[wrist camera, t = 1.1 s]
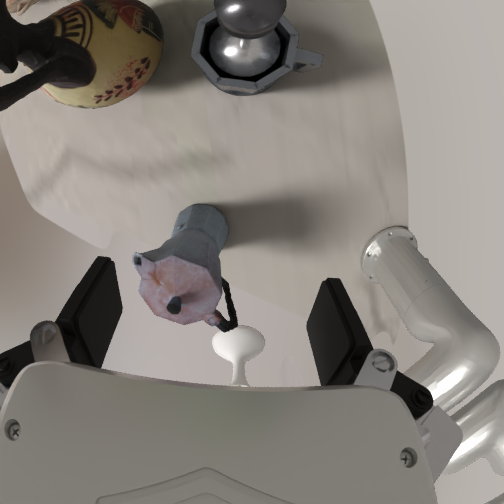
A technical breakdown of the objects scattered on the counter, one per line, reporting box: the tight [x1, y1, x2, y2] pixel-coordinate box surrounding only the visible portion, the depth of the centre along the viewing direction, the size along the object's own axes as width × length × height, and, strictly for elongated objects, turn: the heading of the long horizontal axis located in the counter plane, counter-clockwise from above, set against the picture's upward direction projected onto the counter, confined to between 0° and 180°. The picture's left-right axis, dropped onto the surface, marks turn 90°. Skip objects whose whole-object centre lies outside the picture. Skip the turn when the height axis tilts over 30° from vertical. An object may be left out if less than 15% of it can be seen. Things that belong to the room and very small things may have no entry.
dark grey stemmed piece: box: [209, 0, 286, 77], centre depth 16 cm, size 7×7×14 cm
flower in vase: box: [212, 325, 265, 387], centre depth 47 cm, size 13×11×25 cm
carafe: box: [191, 10, 323, 96], centre depth 25 cm, size 14×11×12 cm
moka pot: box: [132, 204, 238, 333], centre depth 35 cm, size 10×15×20 cm, turn 48°
